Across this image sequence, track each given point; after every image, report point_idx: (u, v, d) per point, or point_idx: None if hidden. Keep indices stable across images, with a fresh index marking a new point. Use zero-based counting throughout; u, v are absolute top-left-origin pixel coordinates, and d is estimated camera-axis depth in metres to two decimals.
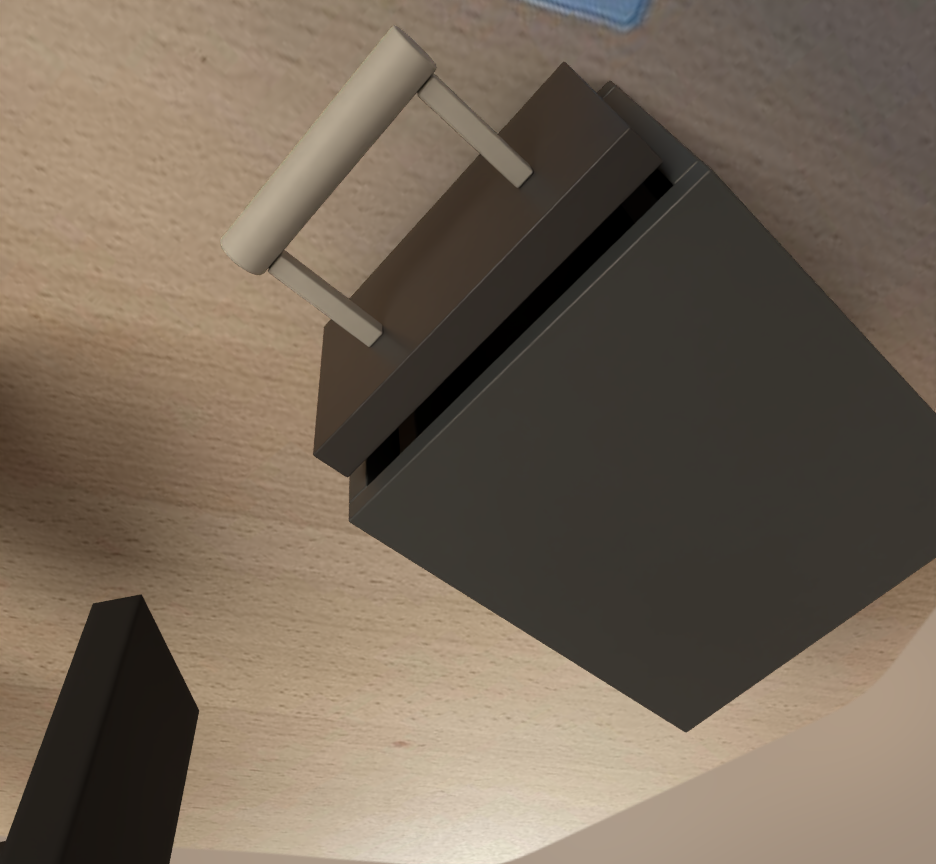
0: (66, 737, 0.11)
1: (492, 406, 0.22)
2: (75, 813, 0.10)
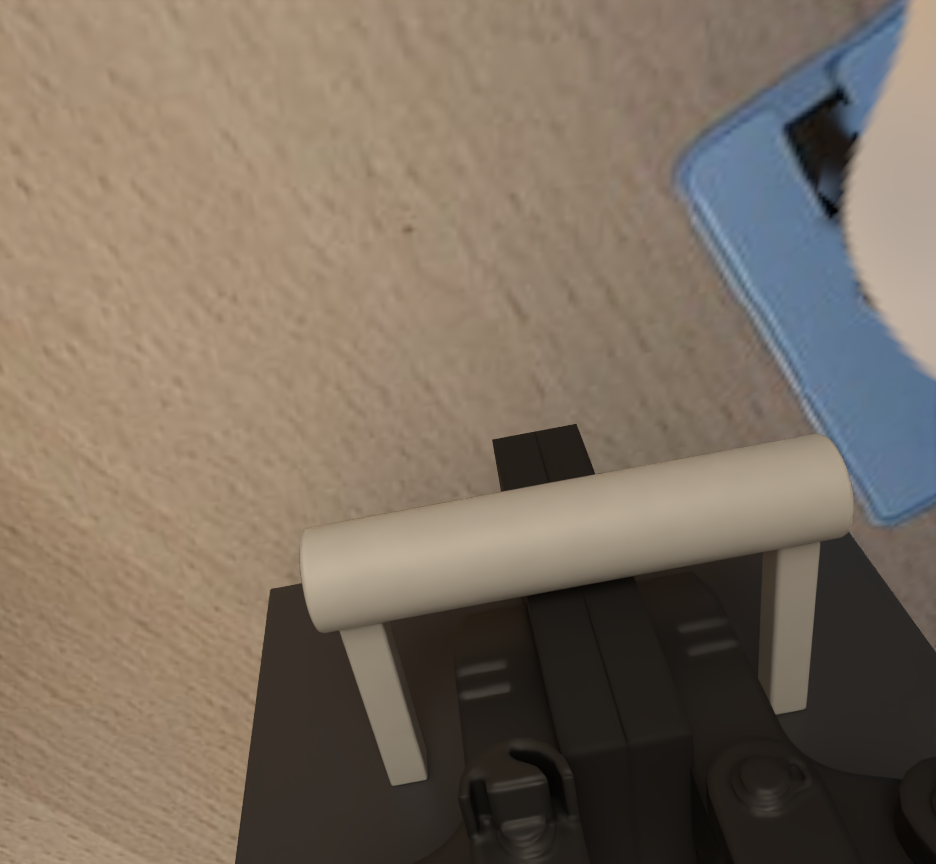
0: None
1: None
2: None
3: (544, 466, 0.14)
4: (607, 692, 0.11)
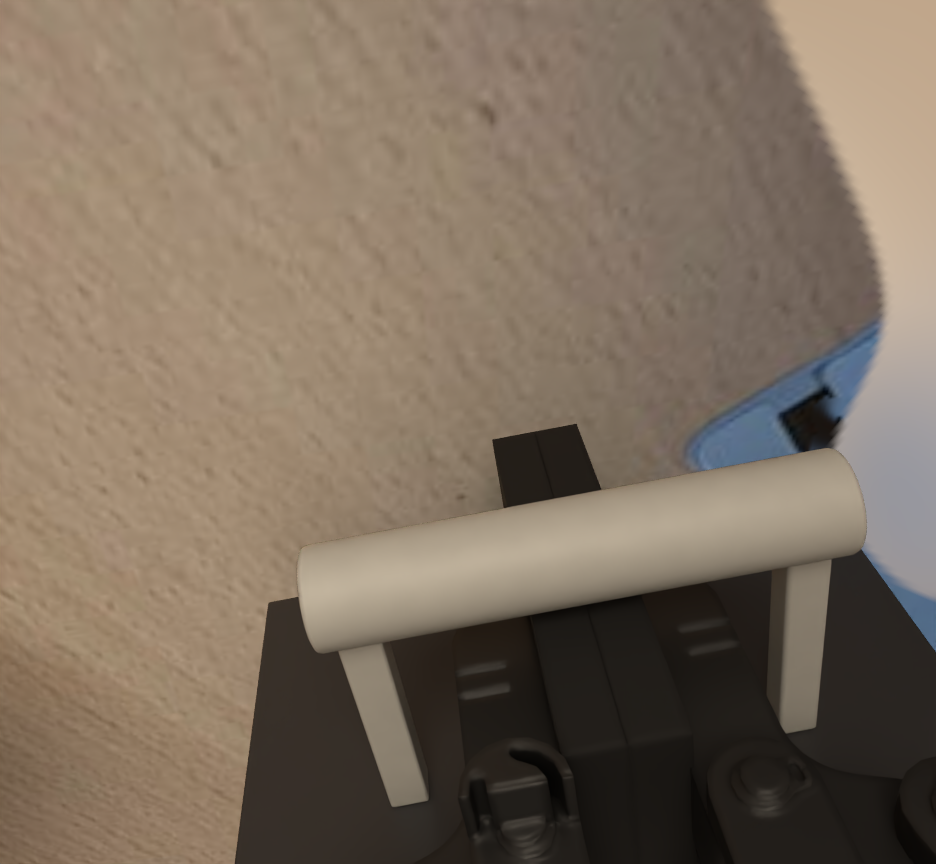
0: None
1: None
2: None
3: (544, 466, 0.14)
4: (607, 692, 0.11)
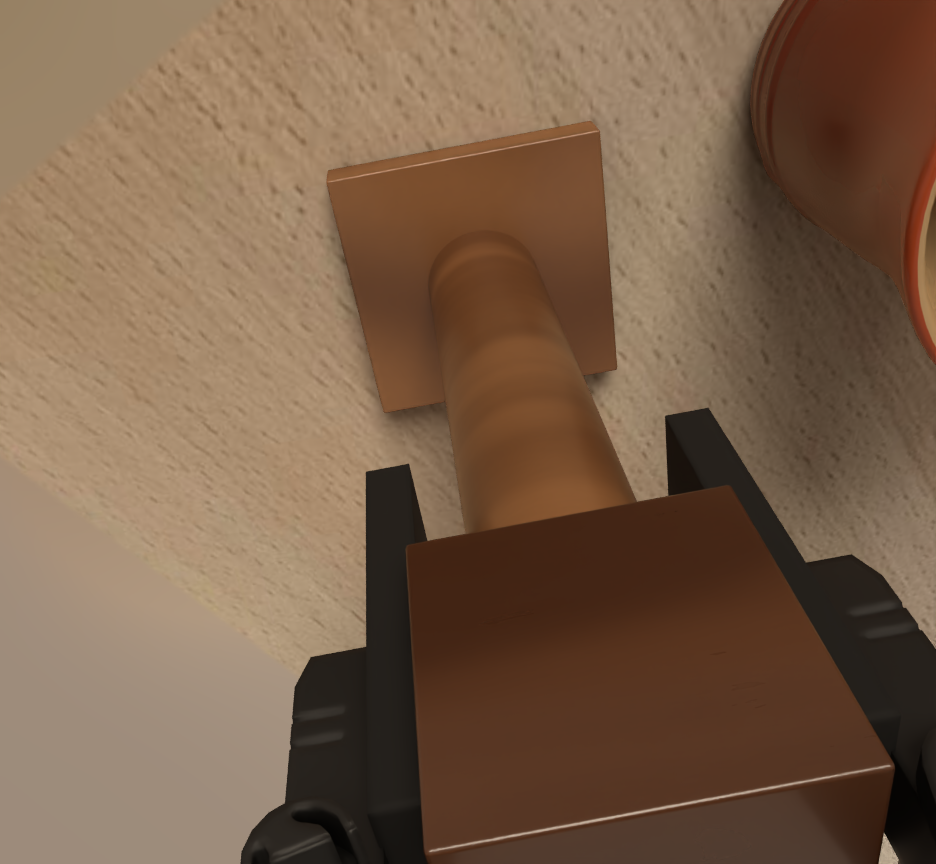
0: (387, 566, 0.13)
1: None
2: None
3: (684, 450, 0.14)
4: None
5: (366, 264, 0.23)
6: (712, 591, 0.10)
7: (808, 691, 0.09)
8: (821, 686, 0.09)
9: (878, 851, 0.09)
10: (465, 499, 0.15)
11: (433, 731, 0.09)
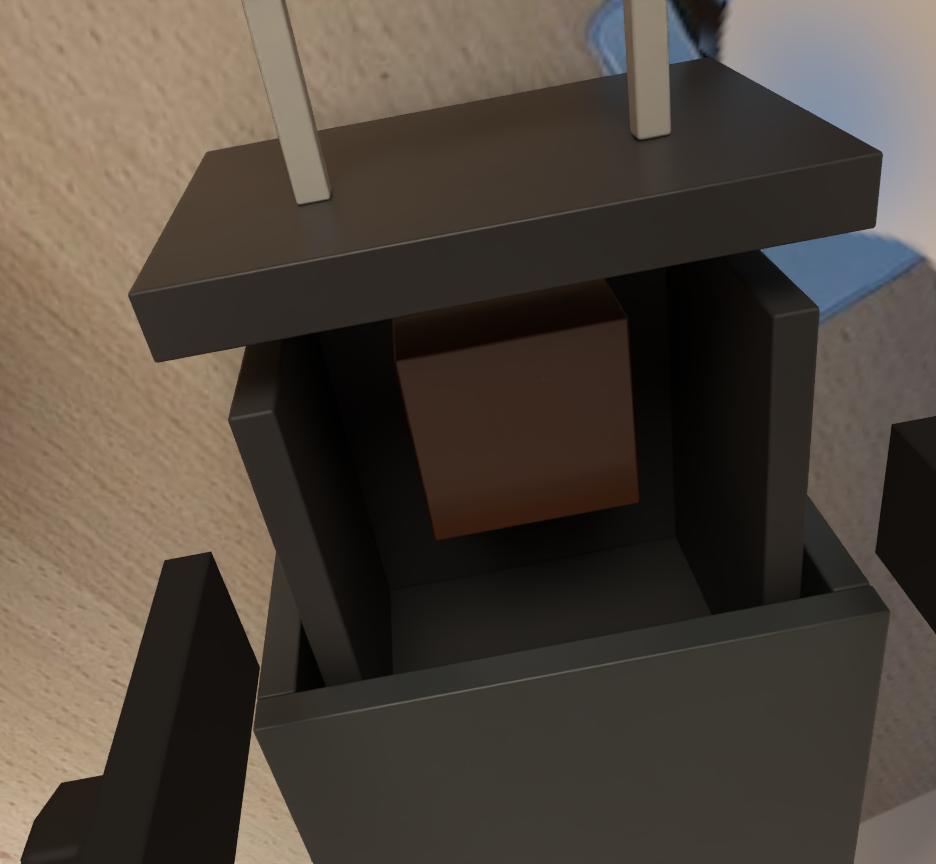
0: (152, 679, 0.12)
1: (514, 700, 0.17)
2: (167, 746, 0.11)
3: (928, 462, 0.13)
4: None
5: None
6: None
7: (595, 299, 0.17)
8: (602, 297, 0.17)
9: (632, 384, 0.17)
10: None
11: (401, 327, 0.18)
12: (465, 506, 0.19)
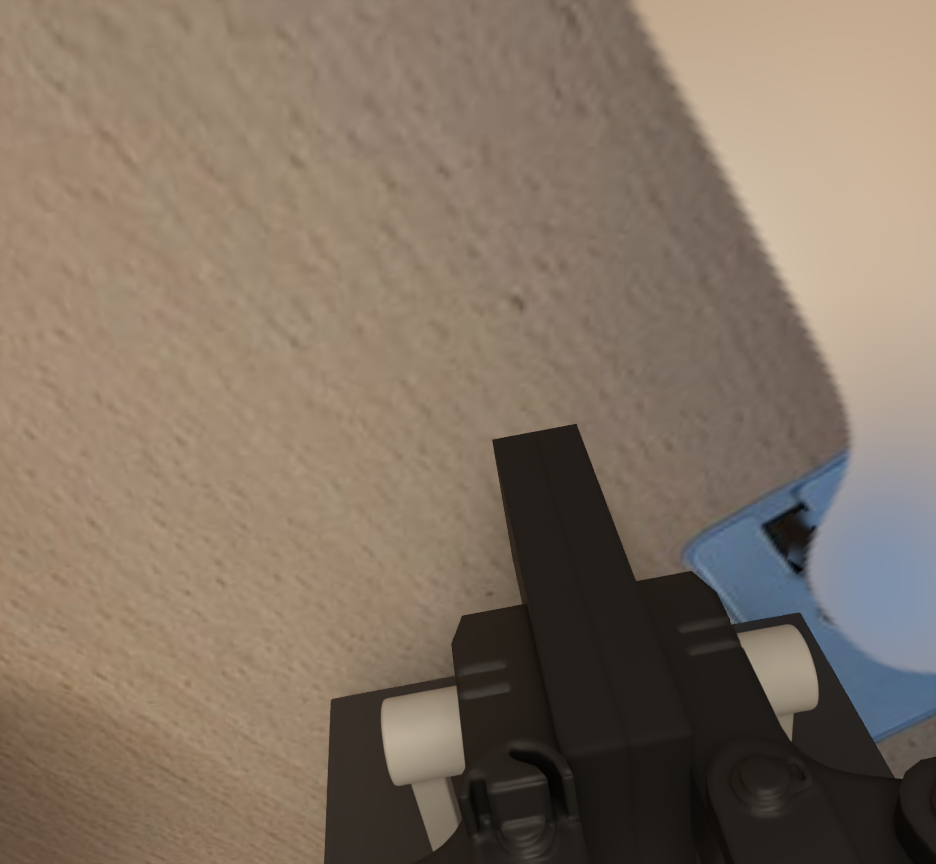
0: (533, 527, 0.13)
1: None
2: (577, 574, 0.12)
3: (544, 466, 0.14)
4: (607, 692, 0.11)
5: None
6: None
7: None
8: None
9: None
10: None
11: None
12: None
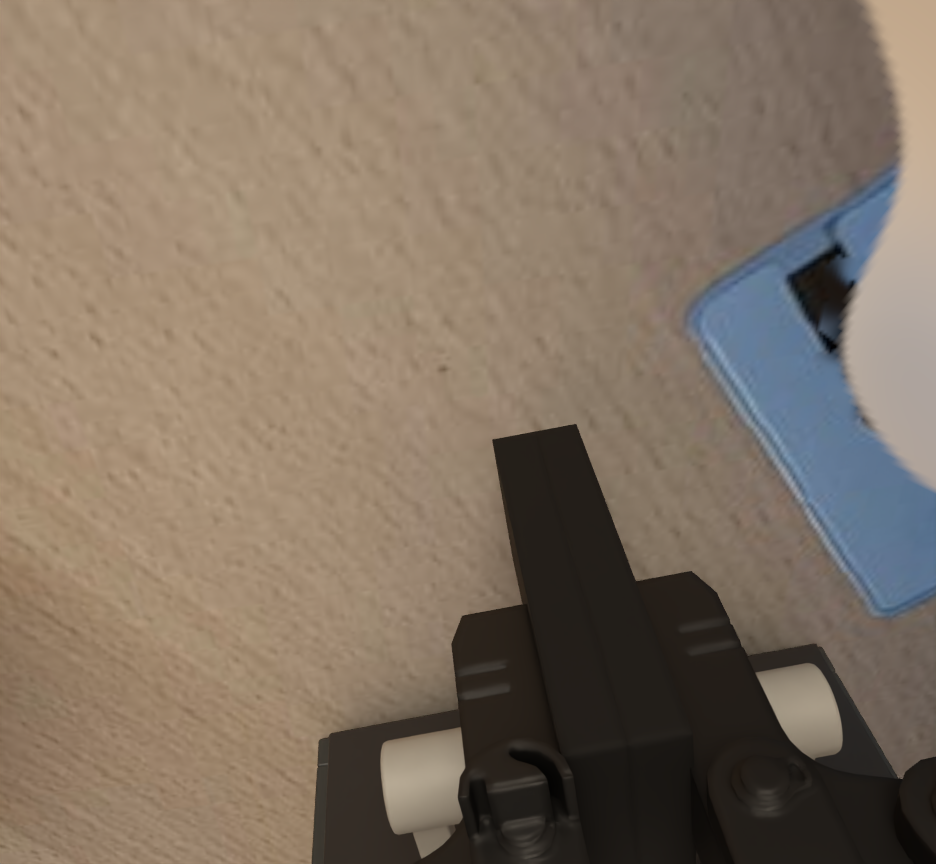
0: (533, 527, 0.13)
1: None
2: (577, 574, 0.12)
3: (544, 466, 0.14)
4: (607, 692, 0.11)
5: None
6: None
7: None
8: None
9: None
10: None
11: None
12: None
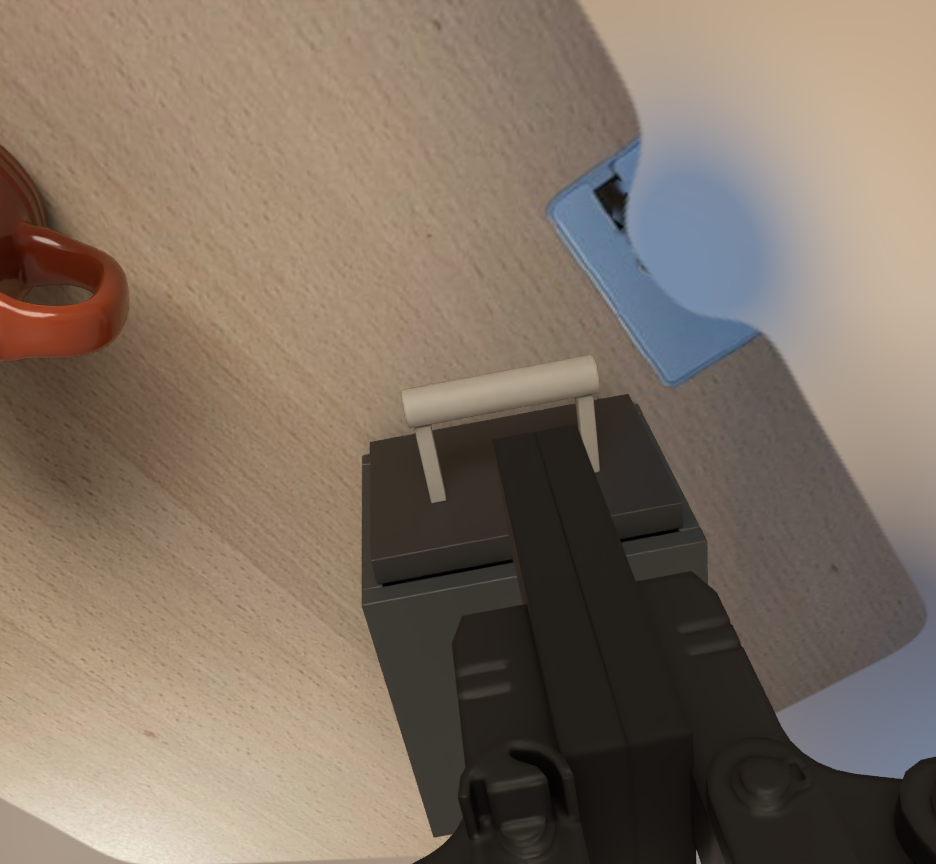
0: (533, 527, 0.13)
1: (503, 589, 0.32)
2: (576, 574, 0.12)
3: (544, 466, 0.14)
4: (607, 692, 0.11)
5: None
6: None
7: None
8: None
9: None
10: None
11: None
12: None
